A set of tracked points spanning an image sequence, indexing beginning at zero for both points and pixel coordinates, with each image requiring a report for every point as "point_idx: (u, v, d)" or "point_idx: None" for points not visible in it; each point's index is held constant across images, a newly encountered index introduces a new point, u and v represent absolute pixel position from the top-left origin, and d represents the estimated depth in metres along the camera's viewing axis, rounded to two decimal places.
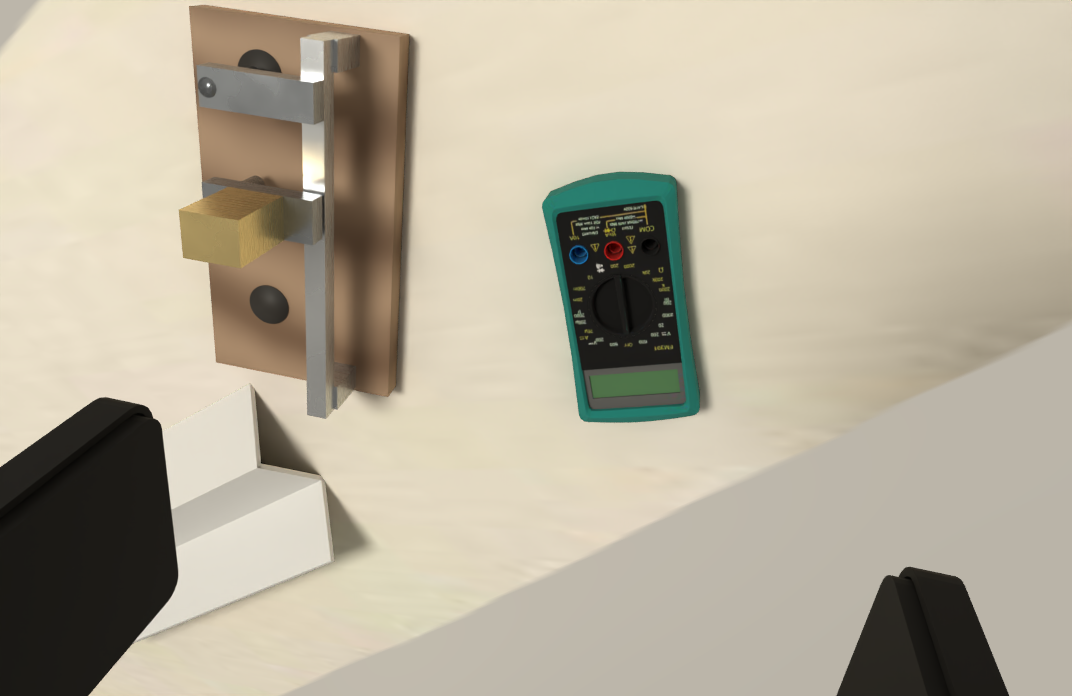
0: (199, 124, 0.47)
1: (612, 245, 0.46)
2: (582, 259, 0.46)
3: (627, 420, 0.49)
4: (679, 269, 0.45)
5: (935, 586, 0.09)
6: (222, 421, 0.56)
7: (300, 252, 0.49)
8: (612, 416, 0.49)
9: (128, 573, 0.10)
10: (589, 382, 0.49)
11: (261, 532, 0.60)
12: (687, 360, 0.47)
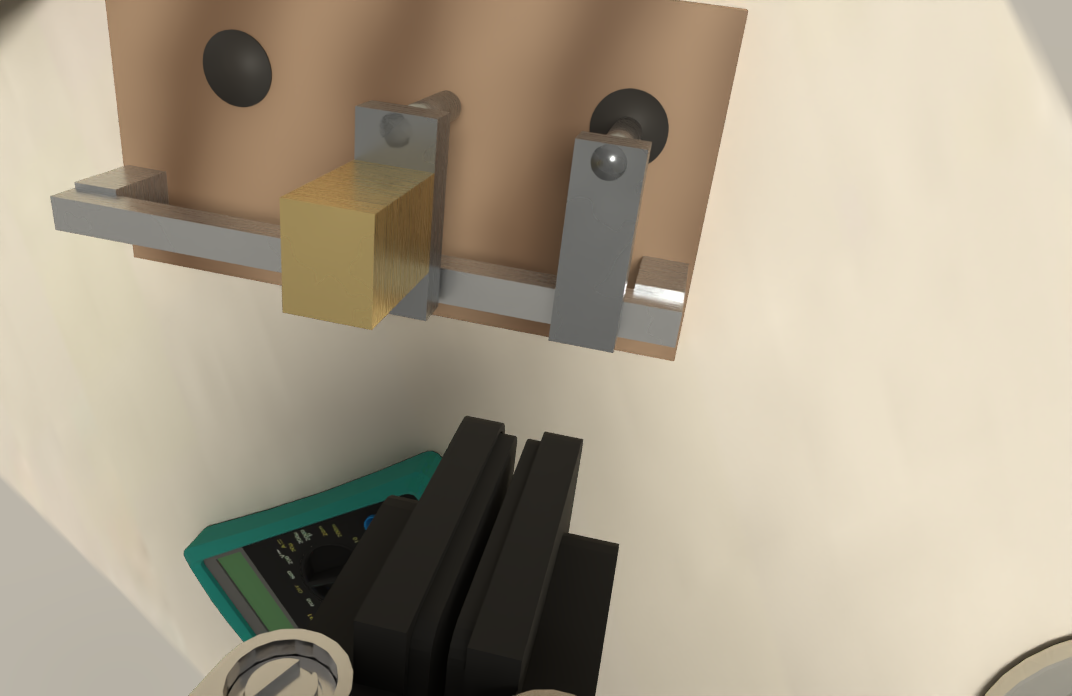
0: None
1: None
2: None
3: (212, 600, 0.39)
4: None
5: (554, 443, 0.10)
6: None
7: (340, 147, 0.29)
8: (206, 589, 0.39)
9: None
10: (232, 552, 0.38)
11: None
12: None
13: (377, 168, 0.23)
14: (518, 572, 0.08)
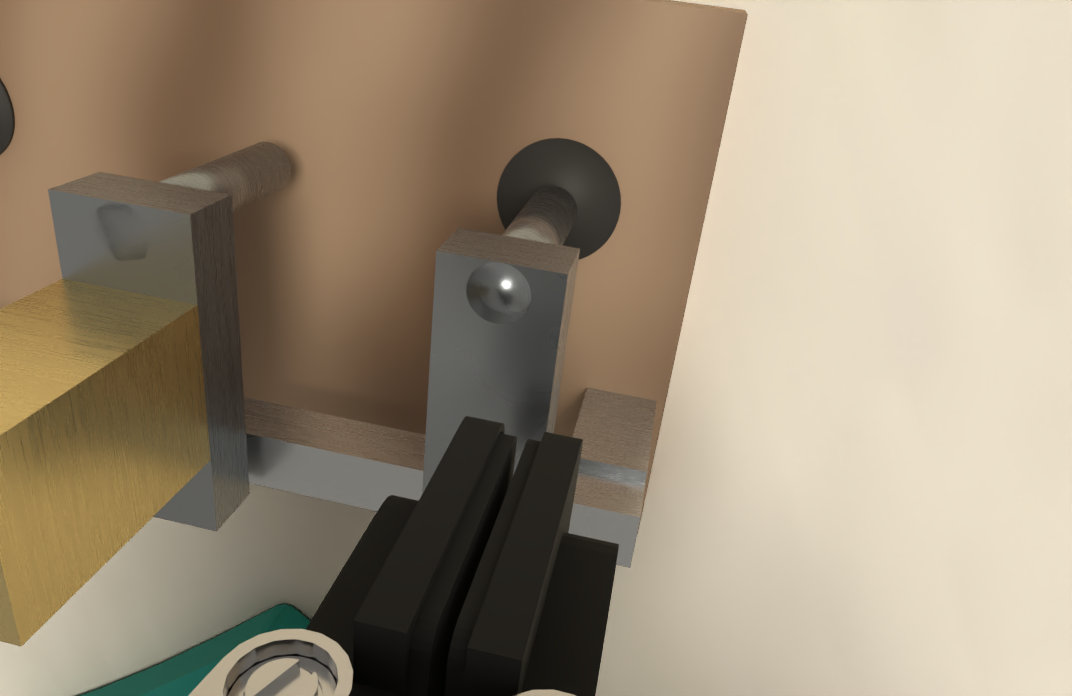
0: None
1: None
2: None
3: None
4: None
5: (554, 443, 0.10)
6: None
7: None
8: None
9: None
10: None
11: None
12: None
13: (92, 300, 0.13)
14: (518, 572, 0.08)
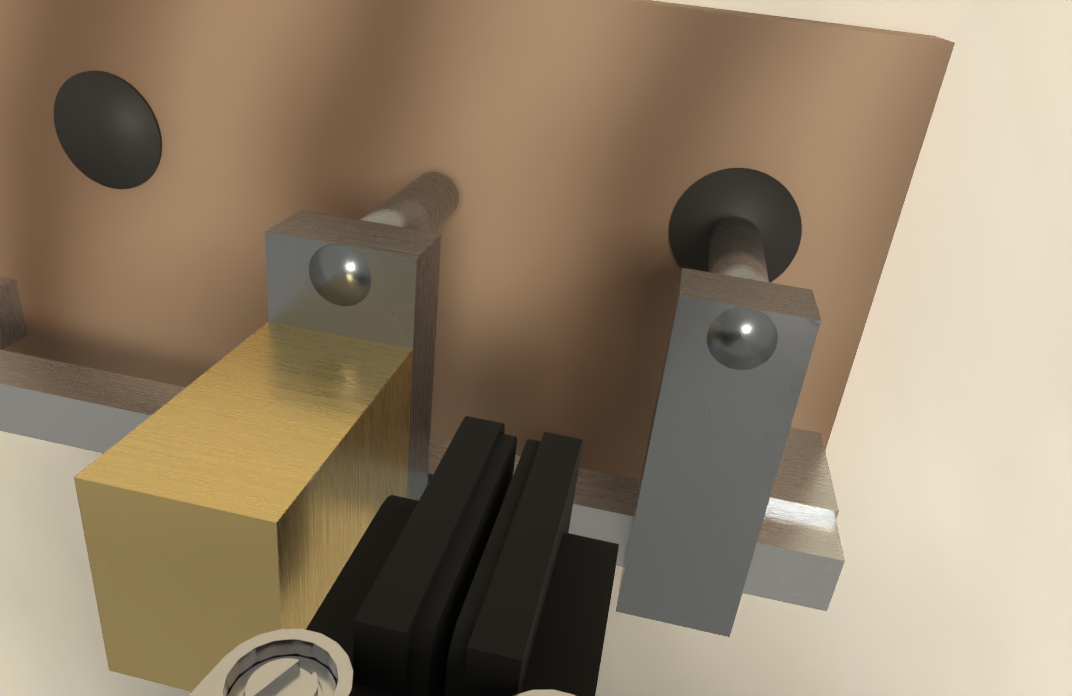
0: None
1: None
2: None
3: None
4: None
5: (554, 443, 0.10)
6: None
7: None
8: None
9: None
10: None
11: None
12: None
13: (308, 344, 0.12)
14: (518, 572, 0.08)
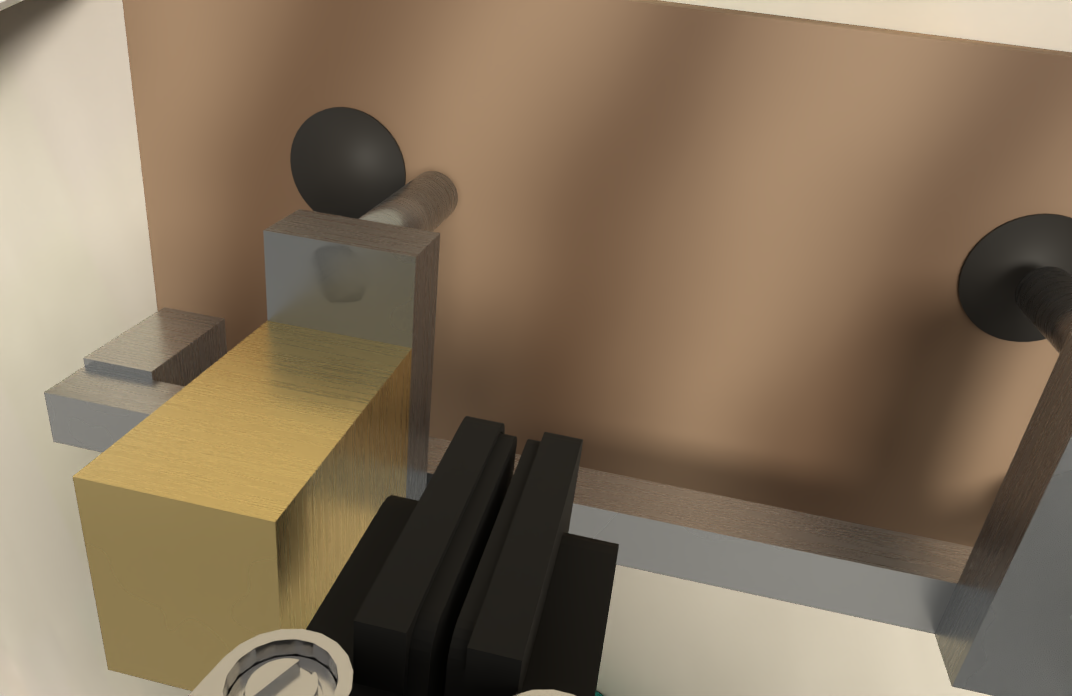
0: (914, 36, 0.14)
1: None
2: None
3: None
4: None
5: (554, 443, 0.10)
6: None
7: (513, 292, 0.18)
8: None
9: None
10: None
11: None
12: None
13: (307, 344, 0.12)
14: (518, 572, 0.08)
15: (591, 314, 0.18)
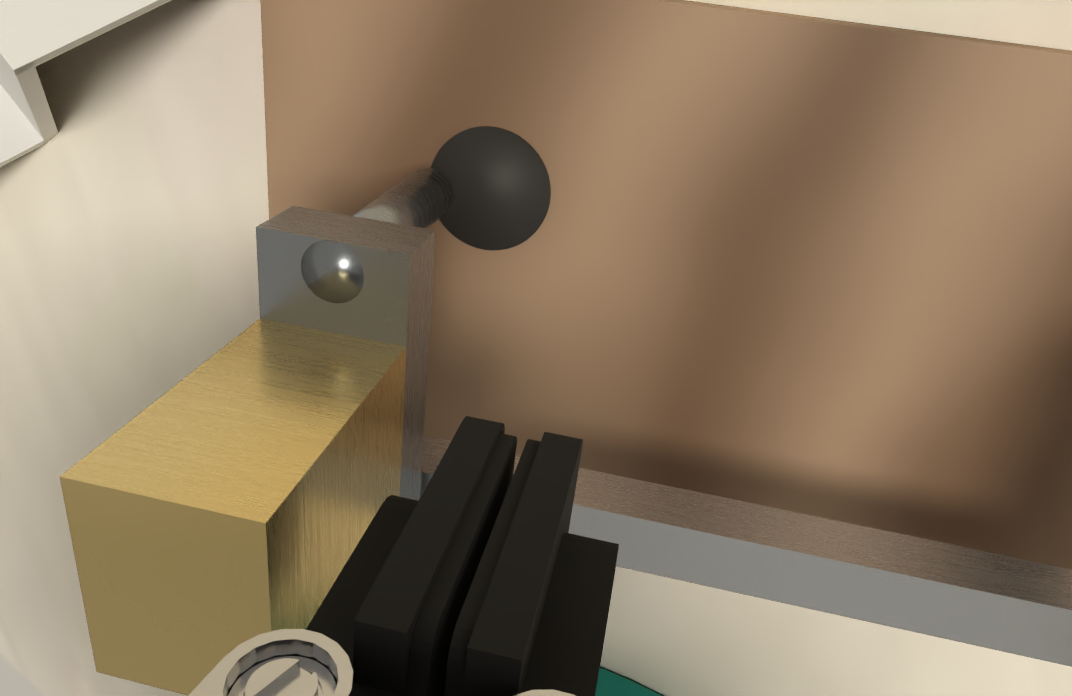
0: None
1: None
2: None
3: None
4: None
5: (554, 443, 0.10)
6: None
7: (655, 316, 0.17)
8: None
9: None
10: None
11: None
12: None
13: (300, 342, 0.12)
14: (518, 572, 0.08)
15: (736, 340, 0.17)
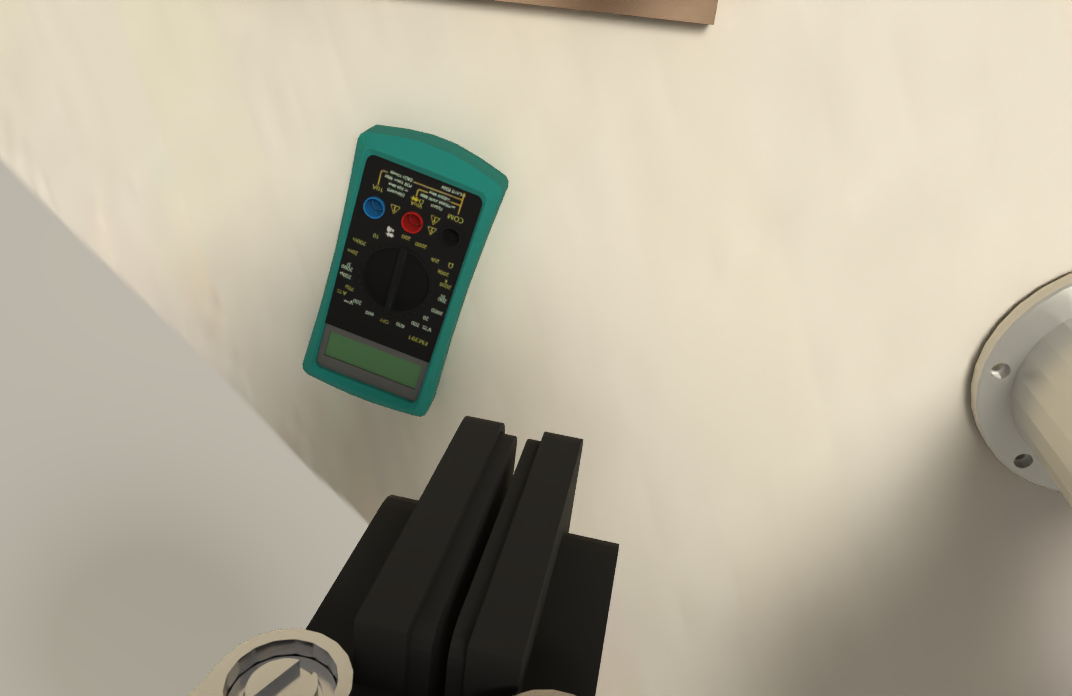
0: None
1: (414, 214, 0.41)
2: (376, 213, 0.40)
3: (349, 392, 0.44)
4: (469, 273, 0.40)
5: (554, 443, 0.10)
6: None
7: None
8: (335, 381, 0.44)
9: None
10: (327, 337, 0.43)
11: None
12: (435, 363, 0.43)
13: None
14: (518, 572, 0.08)
15: None
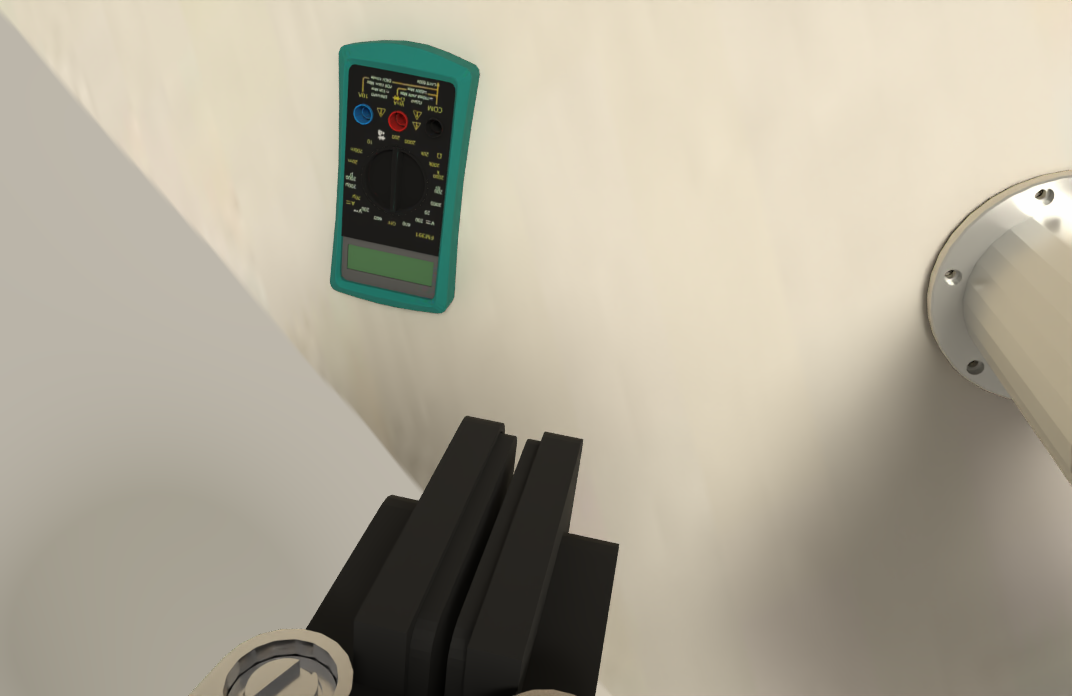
0: None
1: (402, 118, 0.45)
2: (367, 121, 0.44)
3: (374, 300, 0.48)
4: (457, 161, 0.44)
5: (554, 443, 0.10)
6: None
7: None
8: (360, 291, 0.48)
9: None
10: (346, 250, 0.48)
11: None
12: (444, 255, 0.46)
13: None
14: (518, 572, 0.08)
15: None
